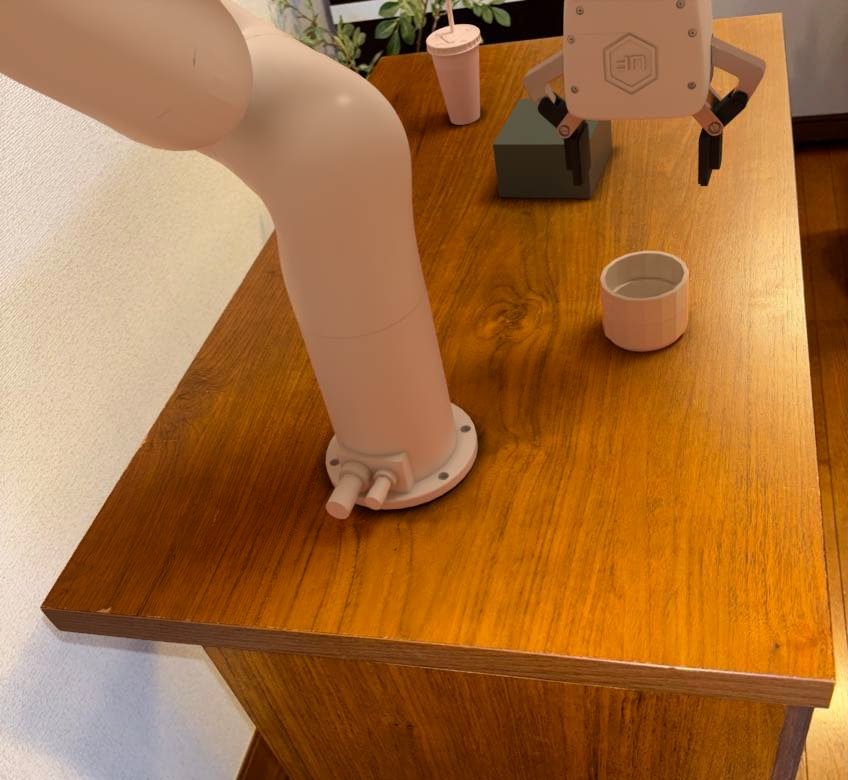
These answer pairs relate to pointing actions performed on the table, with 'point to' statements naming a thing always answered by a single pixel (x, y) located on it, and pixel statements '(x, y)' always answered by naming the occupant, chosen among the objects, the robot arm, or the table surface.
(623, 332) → the cup
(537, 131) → the stand
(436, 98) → the table surface
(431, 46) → the smoothie
